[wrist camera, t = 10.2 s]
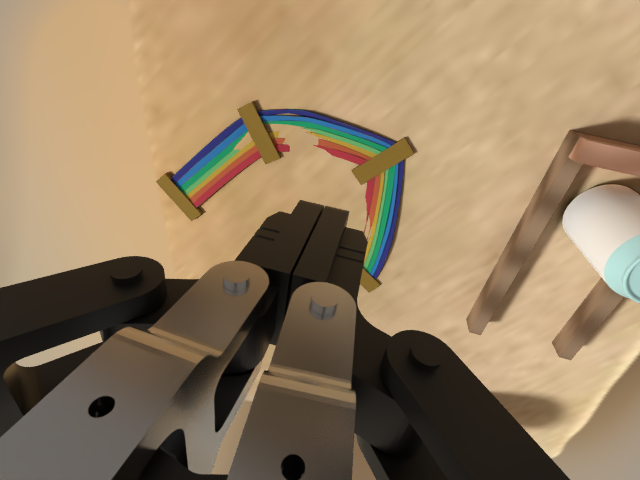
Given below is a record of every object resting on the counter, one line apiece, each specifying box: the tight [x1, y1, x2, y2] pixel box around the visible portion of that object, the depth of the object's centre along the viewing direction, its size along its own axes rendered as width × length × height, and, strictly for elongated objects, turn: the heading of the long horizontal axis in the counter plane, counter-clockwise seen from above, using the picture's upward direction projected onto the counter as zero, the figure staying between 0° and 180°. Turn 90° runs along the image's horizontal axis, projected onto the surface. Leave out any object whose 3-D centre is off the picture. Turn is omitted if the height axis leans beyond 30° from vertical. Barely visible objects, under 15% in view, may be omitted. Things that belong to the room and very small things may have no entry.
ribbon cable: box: [156, 101, 414, 292], centre depth 45 cm, size 29×1×30 cm
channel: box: [466, 130, 640, 360], centre depth 39 cm, size 26×13×4 cm, turn 171°
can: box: [562, 184, 640, 303], centre depth 32 cm, size 7×7×12 cm
